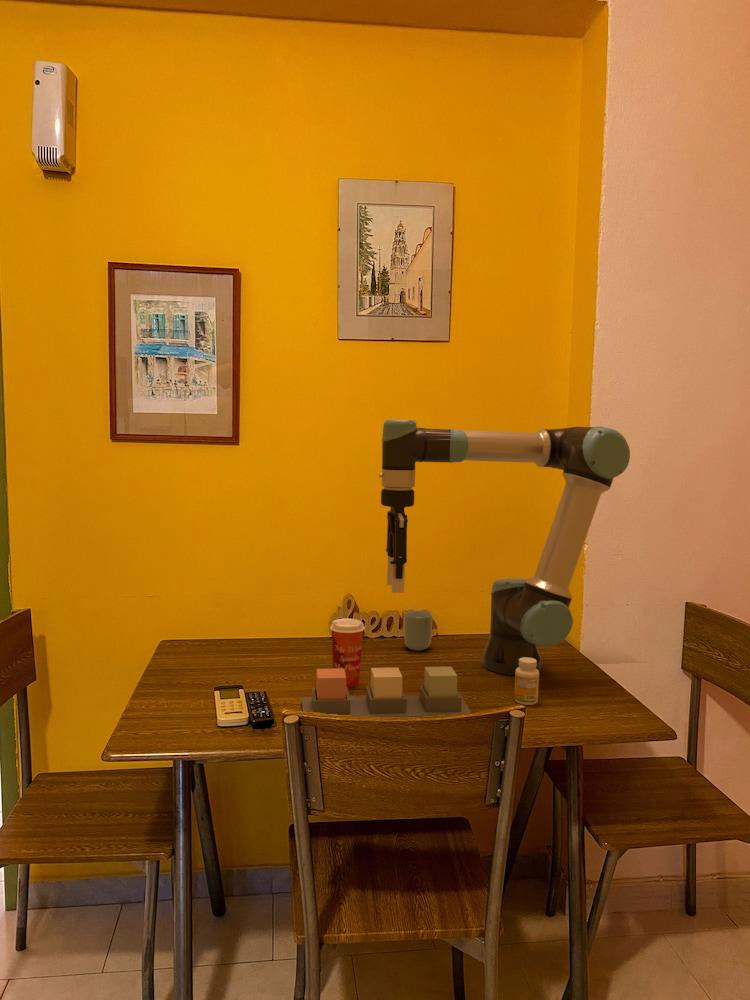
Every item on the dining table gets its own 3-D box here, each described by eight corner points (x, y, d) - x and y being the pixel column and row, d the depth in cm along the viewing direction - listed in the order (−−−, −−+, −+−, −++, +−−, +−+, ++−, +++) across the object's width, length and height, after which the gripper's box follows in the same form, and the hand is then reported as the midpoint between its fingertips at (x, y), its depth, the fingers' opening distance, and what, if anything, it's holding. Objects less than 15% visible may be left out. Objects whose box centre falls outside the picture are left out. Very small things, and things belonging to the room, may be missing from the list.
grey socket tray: (459, 699, 170) (460, 681, 170) (472, 720, 159) (473, 701, 158) (302, 702, 166) (302, 684, 166) (303, 724, 154) (303, 705, 154)
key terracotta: (343, 690, 164) (344, 668, 163) (345, 700, 158) (346, 677, 157) (316, 691, 163) (316, 668, 163) (317, 701, 157) (317, 678, 157)
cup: (400, 651, 205) (401, 615, 204) (407, 643, 212) (408, 609, 211) (428, 654, 203) (429, 618, 202) (434, 646, 210) (435, 611, 209)
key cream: (397, 689, 165) (398, 667, 165) (401, 699, 159) (402, 676, 159) (370, 689, 165) (371, 667, 164) (373, 700, 159) (374, 677, 158)
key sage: (450, 688, 167) (451, 666, 166) (456, 698, 161) (457, 675, 160) (424, 688, 166) (424, 666, 166) (429, 698, 160) (429, 676, 160)
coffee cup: (333, 690, 174) (334, 627, 173) (326, 678, 182) (327, 618, 181) (367, 687, 176) (369, 626, 175) (359, 676, 184) (360, 616, 183)
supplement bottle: (521, 694, 174) (522, 654, 173) (542, 700, 171) (544, 659, 170) (509, 701, 170) (511, 660, 169) (531, 707, 167) (533, 665, 166)
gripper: (376, 484, 177) (373, 579, 179) (387, 492, 157) (384, 599, 160) (407, 484, 178) (404, 579, 180) (422, 492, 158) (419, 598, 161)
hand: (395, 588), depth 170 cm, fingers open, 7 cm apart
